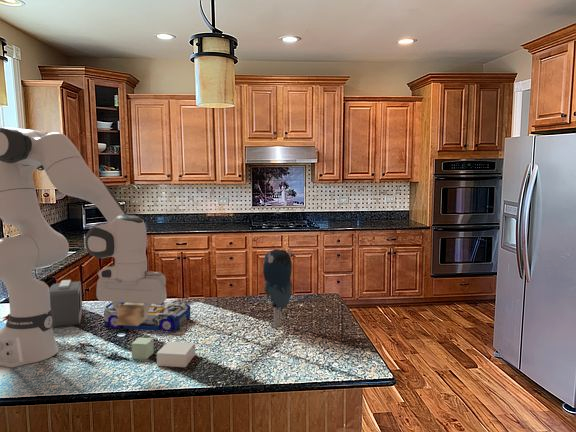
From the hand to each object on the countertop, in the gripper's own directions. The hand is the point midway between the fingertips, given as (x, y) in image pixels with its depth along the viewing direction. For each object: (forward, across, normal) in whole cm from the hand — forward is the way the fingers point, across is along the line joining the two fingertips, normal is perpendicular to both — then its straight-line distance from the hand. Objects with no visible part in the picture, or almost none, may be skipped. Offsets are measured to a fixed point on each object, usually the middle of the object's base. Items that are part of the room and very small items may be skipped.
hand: (132, 316), depth 127 cm
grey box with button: (+17, +46, -36) cm, 61 cm away
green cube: (+17, +2, -10) cm, 19 cm away
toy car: (+17, +13, -39) cm, 44 cm away
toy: (+16, -38, -41) cm, 58 cm away
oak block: (+2, 0, 0) cm, 2 cm away
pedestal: (+16, -10, -8) cm, 21 cm away
